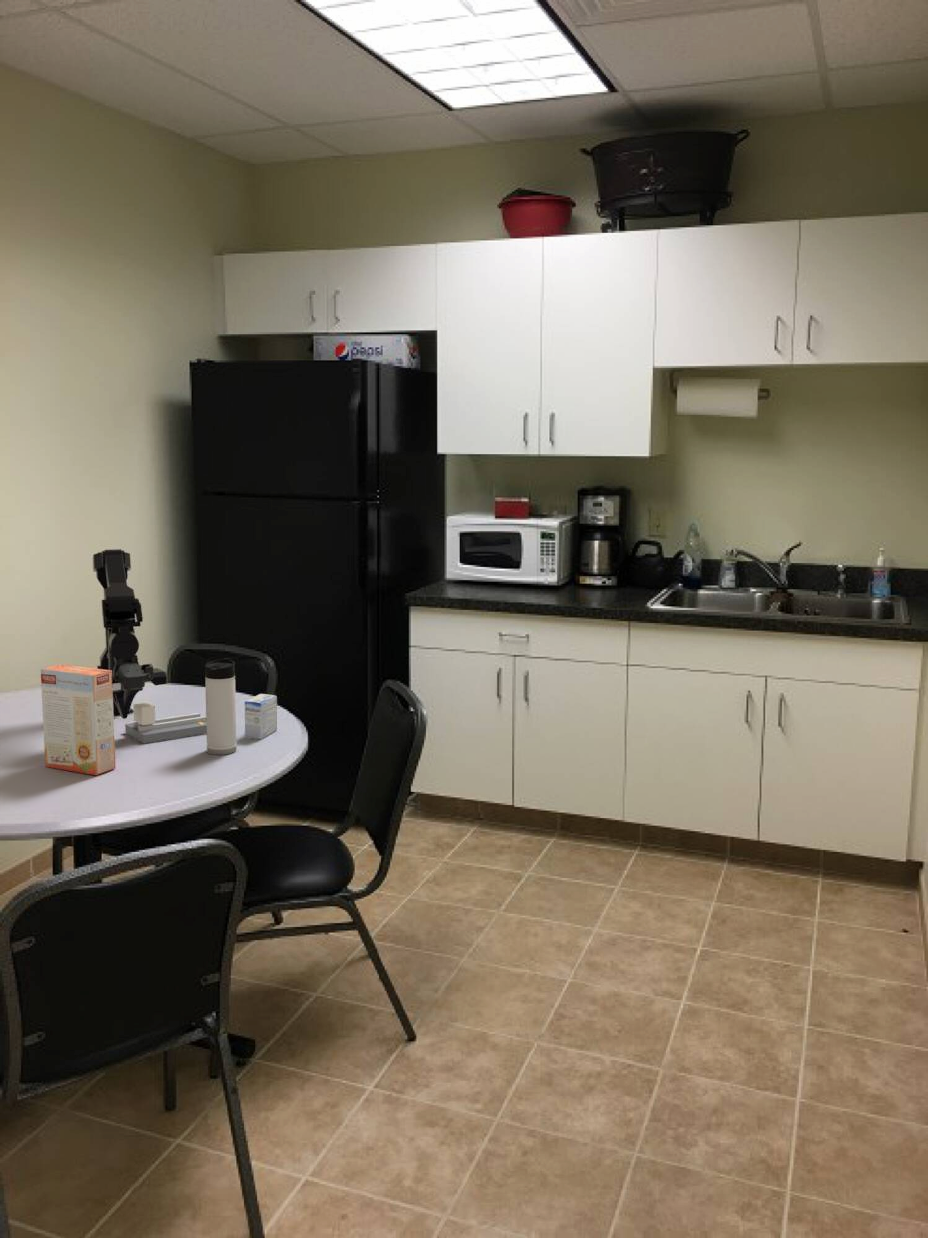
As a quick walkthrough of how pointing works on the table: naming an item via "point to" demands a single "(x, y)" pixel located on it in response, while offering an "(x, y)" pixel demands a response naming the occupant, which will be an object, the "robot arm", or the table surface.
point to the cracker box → (78, 719)
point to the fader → (144, 713)
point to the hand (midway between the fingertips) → (124, 718)
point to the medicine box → (260, 716)
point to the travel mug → (220, 706)
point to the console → (168, 728)
